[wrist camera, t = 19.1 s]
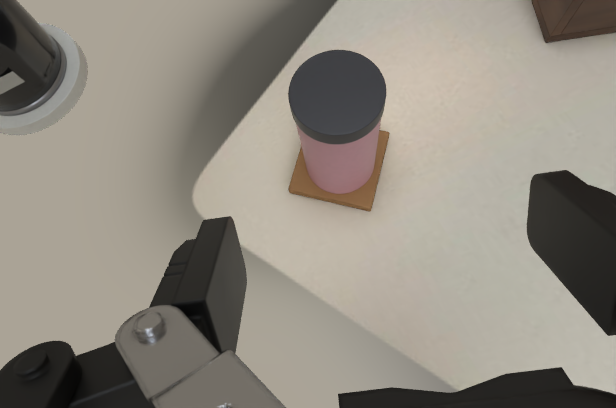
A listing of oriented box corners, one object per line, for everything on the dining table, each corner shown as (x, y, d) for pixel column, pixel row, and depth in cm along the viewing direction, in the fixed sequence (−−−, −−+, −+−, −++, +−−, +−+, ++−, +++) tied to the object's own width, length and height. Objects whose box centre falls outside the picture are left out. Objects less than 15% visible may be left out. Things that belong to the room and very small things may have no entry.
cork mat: (289, 193, 35) (287, 189, 34) (310, 120, 36) (310, 115, 36) (370, 211, 34) (371, 208, 33) (388, 136, 35) (389, 131, 35)
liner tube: (296, 186, 34) (276, 124, 24) (315, 123, 35) (302, 42, 26) (366, 202, 33) (373, 144, 24) (382, 137, 34) (395, 58, 25)
